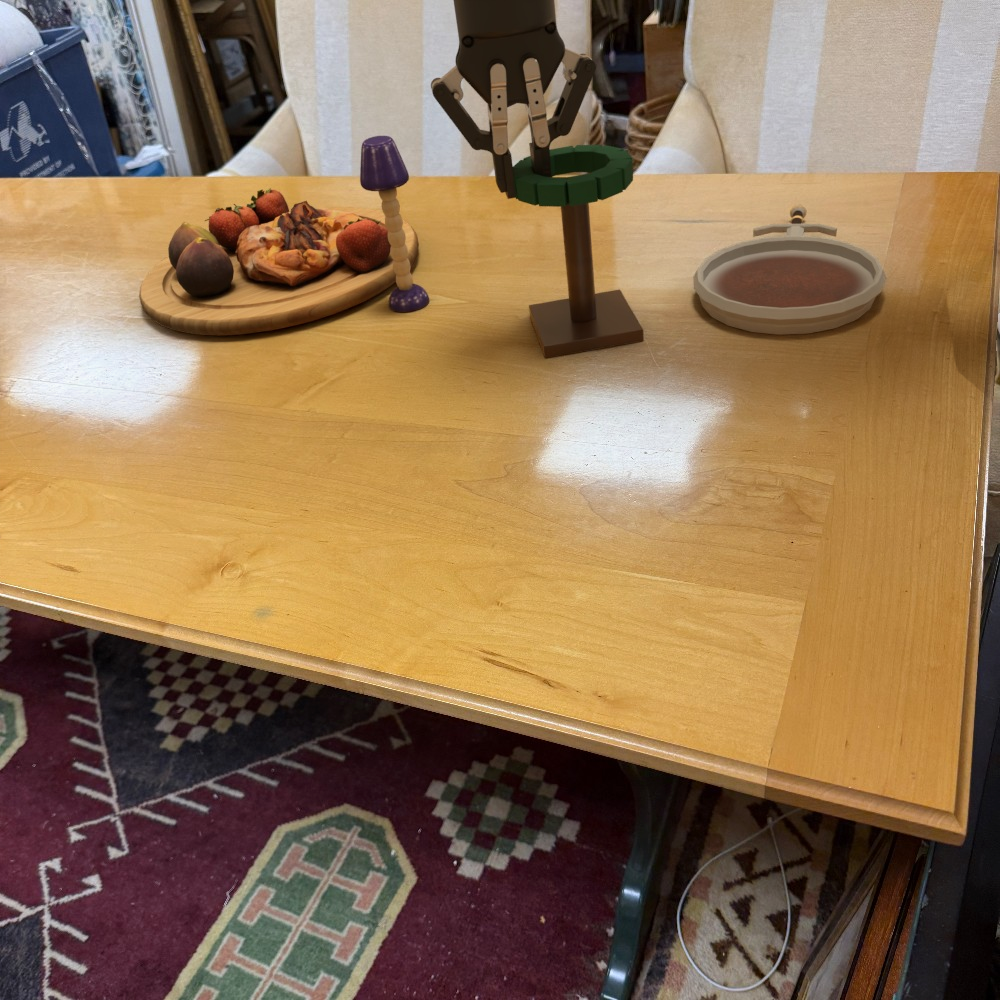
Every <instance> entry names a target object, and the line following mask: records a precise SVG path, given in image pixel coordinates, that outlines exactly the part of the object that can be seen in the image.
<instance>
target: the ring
mask: <svg viewBox="0 0 1000 1000" xmlns="http://www.w3.org/2000/svg"><path fill="white" fill-rule="evenodd" d="M549 150H550V161H551V172H552V177H545V176H541V175H537V174H534V172H533V170H532V165H531V155H528V156H526V157H523V158H522V159H519V160H518V161H517V162H516V164H513V174H514V187H515V196H516V197H515V198H514V199H515V200H517V201H518V202H522V203H525V204H527V205H532V206H539V207H551V208H552V207H554V208H555V207H558V208H559V207H560V208H561V207H565V206H566V205H567V204H568V203H569V205H570V206H575V205H581V204H586V203H589V204H591V203H597V202H598V201H599V200H600V201H604V200H607V199H609V198H611V197H614V196H617V195H619V194H621V193H623V192H624V191H626V190H627V189H628V187H629V186H630V185H631V184H632V183H633V181H634V167H633V166H634V164H633V163H634V161H633V157H632V155H631V154H630V153H629V152H628V151H627V150H625V149H624V148H621V147H616V146H612V145H607V144H605V145H602V144H577V145H575V146H573V145H568V146H567V145H566V146H562V147H557V148H556V147H555V148H551V149H550V148H549ZM572 173H573V174H574V173H583V174H578V175H577V174H576V175H571V176H561V175H566V174H572Z"/></svg>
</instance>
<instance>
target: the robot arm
mask: <svg viewBox="0 0 1000 1000" xmlns="http://www.w3.org/2000/svg"><path fill="white" fill-rule="evenodd" d="M453 6H454V14H455V21H456V28H457V36H458V48H457V53H456V55H455V65H454V66H453V67H452V68H450V70H449V71H448V72H446V73H445V74H444V75H443V76H441V77H434V79H432V81H431V83H430V90H431V92H432V96H433V98H434V99H435V100H436V102H437V103H438V105H440V107H441V109H442V110H443V111H444V112H445V114H446V115H447V117H448V119H450V121H451V122H452V123H453V124H454V126H455V127H456V129H457V130H458V131H459V132H460V134H461V135H462V136H463V138H464V139H465V140H466V142H467V144H469V146H470V147H471V149H472V150H474V151H485V152H489V153H490V154H491V155H492V164H493V170H494V178H495V183H496V186H497V188H498V190H499V192H500V194H503V193H505V195H506V198H507V200H511V199H516V198H515V197H516V196H515V187H514V174H513V166H514V164H513V157H512V153H511V151H510V149H509V135H508V134H509V133H508V123H509V120H508V119H509V118H508V115H509V114H508V108H510V107H513V106H514V105H516V104H521V105H522V104H523V105H524V108H525V111H526V115H527V120H528V125H529V126H528V127H529V132H530V139H531V142H529V143H528V144H529V146H528V147H529V156H531V165H532V170H533V172H534V174H537V175H541V176H545V177H552V172H551V161H550V146H551V144H552V142H553V141H554V140H556V139H557V138H560V137H566V136H568V135H569V134H570V133H571V131H572V128H573V126H574V123H575V121H576V118H577V116H578V113H579V111H580V109H581V106H582V105H583V102H584V99H585V96H586V94H587V92H588V90H589V88H590V84H591V82H592V79H593V77H594V75H595V72H596V69H597V65H596V63H595V61H594V59H592V58H591V57H590V56H589V55H587V54H586V53H577V52H575V51H573V50H570V49H568V48H566V44H565V42H564V40H563V38H562V37H561V35H560V33H559V31H558V30H559V29H558V27H557V16H556V4H555V0H453ZM561 63H562V65H563V68H562V77H563V79H565V83H564V84H565V85H564V87H563V89H562V92H561V94H560V96H559V98H558V102H557V104H556V106H555V109H554V111H553V114H552V117H551V118H549V119H548V118H547V117H548V116H547V114H548V113H547V108H546V102H545V96H544V95H545V94H546V92H547V90H548V88H549V86H550V84H551V82H552V81H553V79H554V77H555V76H556V75H555V74H556V73H557V71H558V69H559V67H560V65H561ZM463 80H465V81H466V82H467V83H468V85H469V86H470V87H471V88H472V89H473V90H474V92H476V94H478V96H479V97H480V98H481V99H482V100H483V101H484V102H485V103H486V105H487V117H488V130H485V129H480V127H479V126H478V124H476V122H475V121H474V119H473V118H472V116H471V115H470V114H469V112H468V111H467V110H466V108H465V107H464V106H463V104H462V103H461V101H462V100H463V98H464V90H463V88H462V85H461V84H462V82H463Z"/></svg>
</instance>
